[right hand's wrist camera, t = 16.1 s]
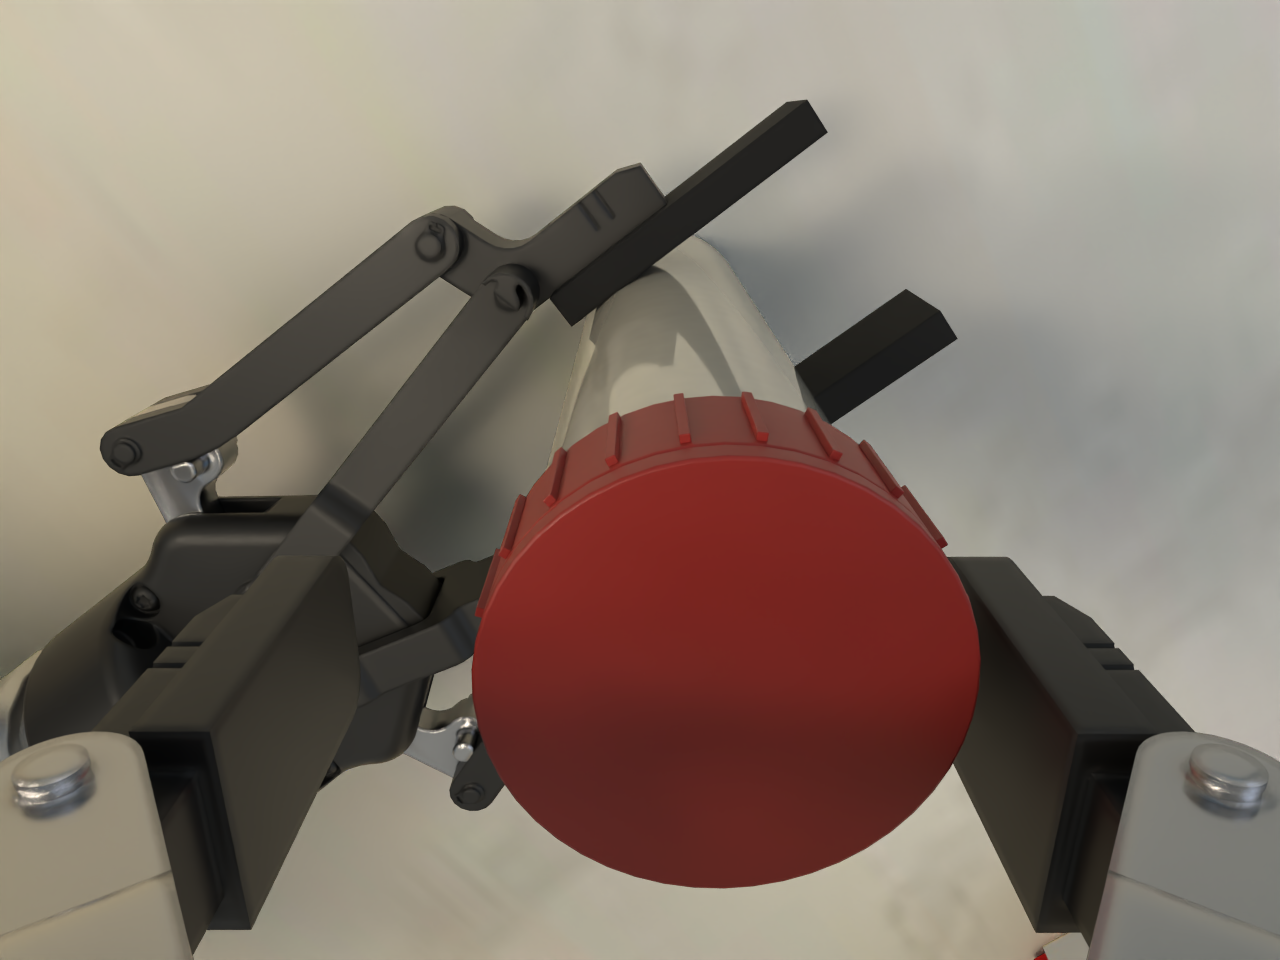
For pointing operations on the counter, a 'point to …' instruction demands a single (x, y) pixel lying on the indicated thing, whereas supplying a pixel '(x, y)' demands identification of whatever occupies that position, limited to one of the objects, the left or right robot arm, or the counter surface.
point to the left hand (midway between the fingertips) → (868, 219)
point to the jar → (675, 346)
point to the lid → (722, 646)
